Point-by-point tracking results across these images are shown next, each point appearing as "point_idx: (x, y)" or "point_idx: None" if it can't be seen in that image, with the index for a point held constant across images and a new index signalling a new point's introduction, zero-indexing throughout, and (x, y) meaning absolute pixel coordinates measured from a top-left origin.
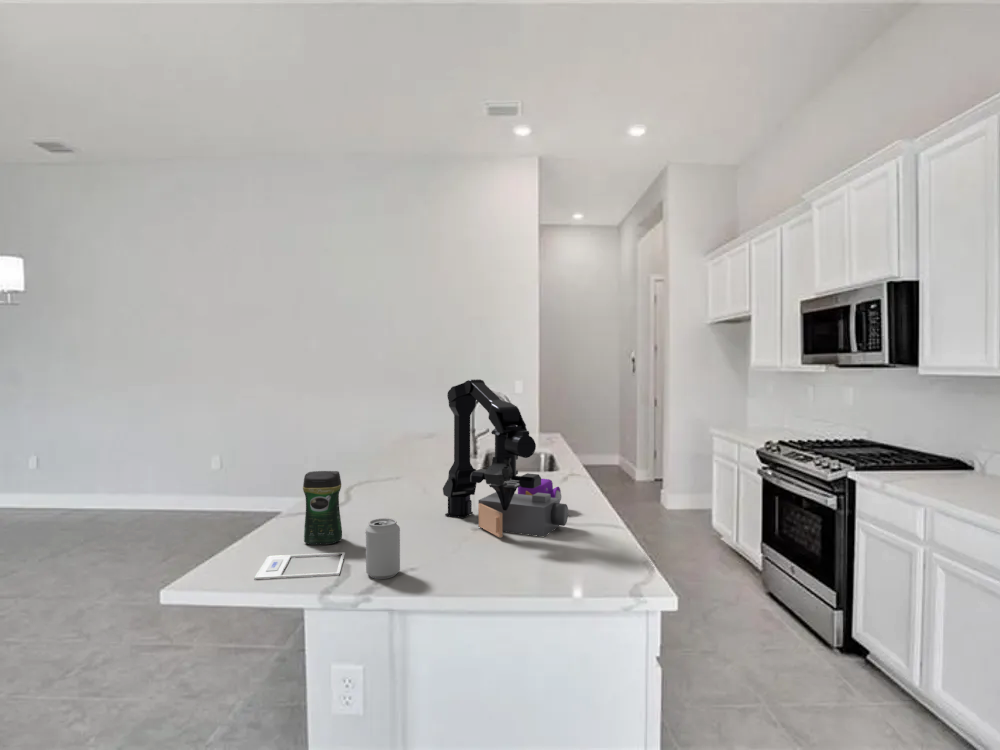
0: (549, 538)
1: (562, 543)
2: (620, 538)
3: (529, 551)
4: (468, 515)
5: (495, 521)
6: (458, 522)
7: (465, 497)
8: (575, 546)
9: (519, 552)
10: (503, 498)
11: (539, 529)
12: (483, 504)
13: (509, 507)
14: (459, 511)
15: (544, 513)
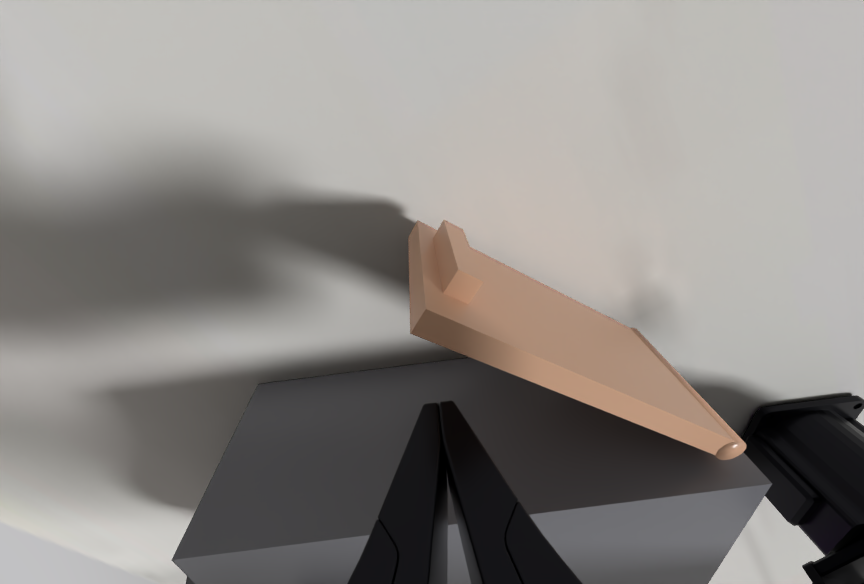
0: (222, 382)
1: (104, 354)
2: (7, 511)
3: (91, 114)
4: None
5: (463, 257)
6: (768, 356)
7: (849, 523)
8: (11, 349)
9: (118, 43)
10: (463, 522)
11: (271, 409)
12: (700, 459)
13: None
14: (806, 435)
15: (199, 512)
